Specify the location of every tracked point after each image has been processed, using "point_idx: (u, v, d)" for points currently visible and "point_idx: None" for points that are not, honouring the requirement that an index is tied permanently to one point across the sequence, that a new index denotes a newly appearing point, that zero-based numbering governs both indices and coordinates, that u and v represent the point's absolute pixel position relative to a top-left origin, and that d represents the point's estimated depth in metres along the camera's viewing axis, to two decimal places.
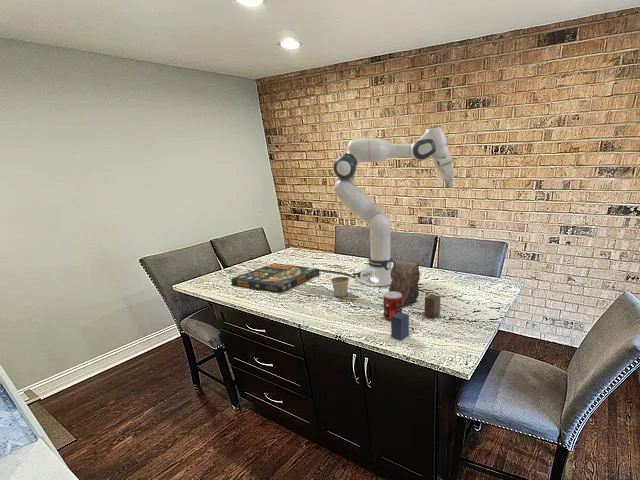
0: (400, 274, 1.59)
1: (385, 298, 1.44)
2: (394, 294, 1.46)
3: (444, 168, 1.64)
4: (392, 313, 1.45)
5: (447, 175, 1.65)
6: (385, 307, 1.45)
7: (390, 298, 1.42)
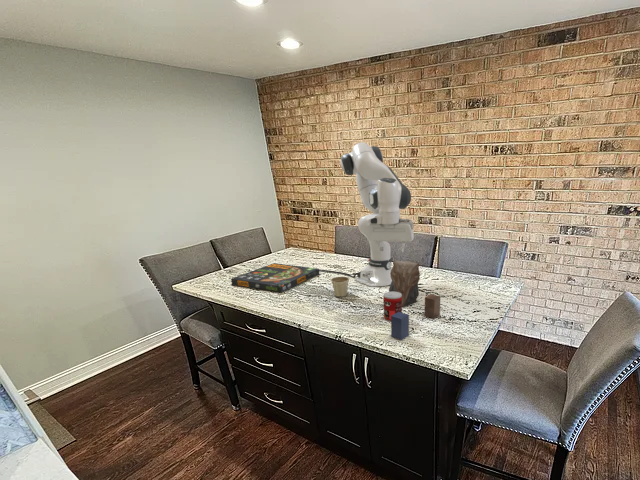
0: (400, 274, 1.59)
1: (385, 298, 1.44)
2: (394, 294, 1.47)
3: None
4: (392, 313, 1.45)
5: None
6: (385, 307, 1.45)
7: (390, 298, 1.42)
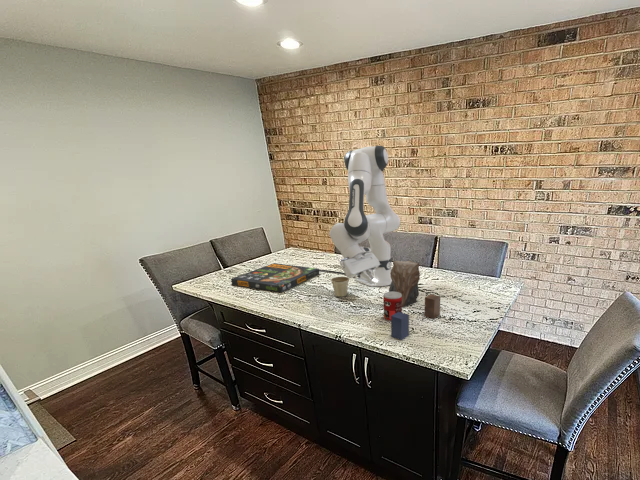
0: (400, 274, 1.59)
1: (385, 298, 1.44)
2: (394, 294, 1.47)
3: None
4: (392, 313, 1.45)
5: None
6: (385, 307, 1.45)
7: (390, 298, 1.42)
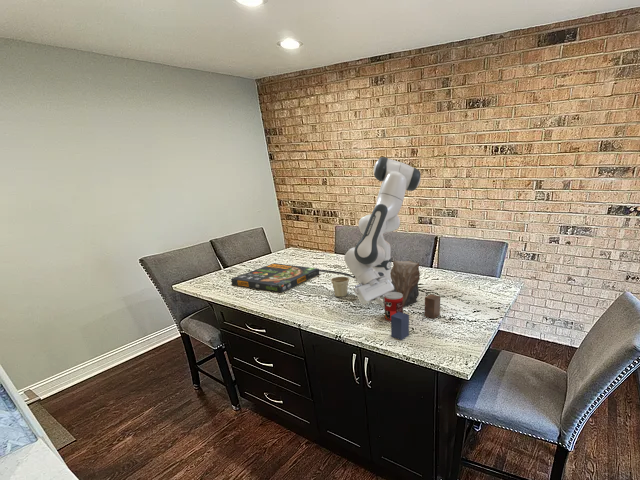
0: (400, 274, 1.59)
1: (386, 298, 1.43)
2: (395, 294, 1.46)
3: None
4: (393, 313, 1.44)
5: None
6: (386, 307, 1.45)
7: (391, 298, 1.42)
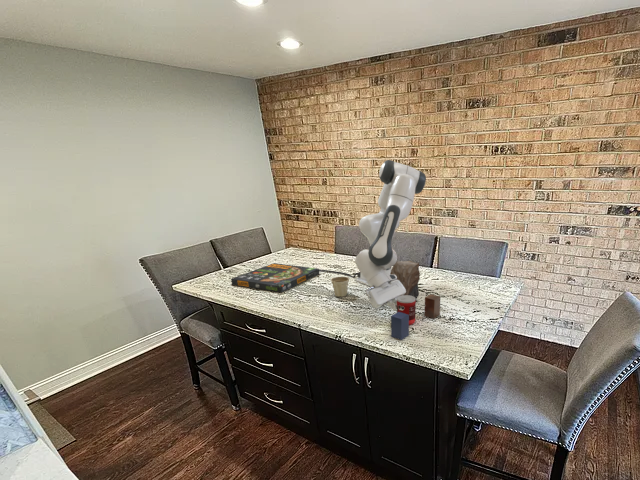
0: (400, 274, 1.59)
1: (399, 302, 1.39)
2: (408, 298, 1.42)
3: None
4: None
5: None
6: (398, 311, 1.41)
7: (404, 302, 1.38)
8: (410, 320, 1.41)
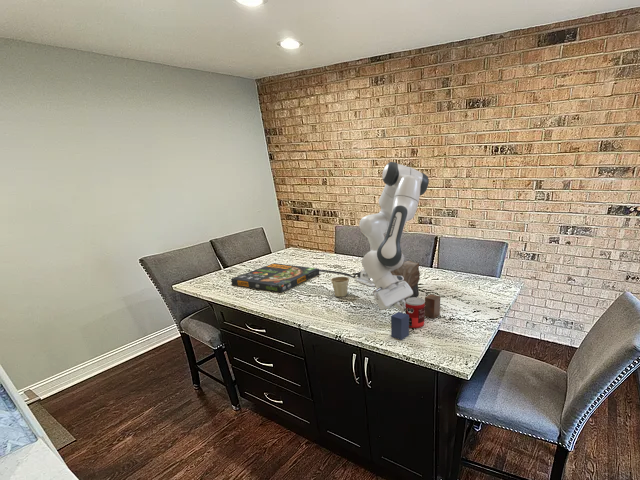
0: (400, 274, 1.59)
1: (408, 305, 1.37)
2: (416, 300, 1.40)
3: None
4: (415, 320, 1.38)
5: None
6: None
7: (413, 305, 1.36)
8: (419, 323, 1.39)
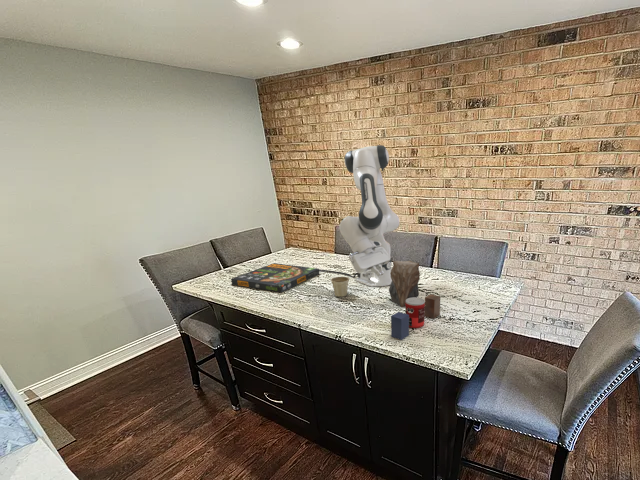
0: (400, 274, 1.59)
1: (408, 305, 1.37)
2: (416, 300, 1.40)
3: None
4: (415, 320, 1.38)
5: None
6: None
7: (413, 305, 1.36)
8: (419, 323, 1.39)
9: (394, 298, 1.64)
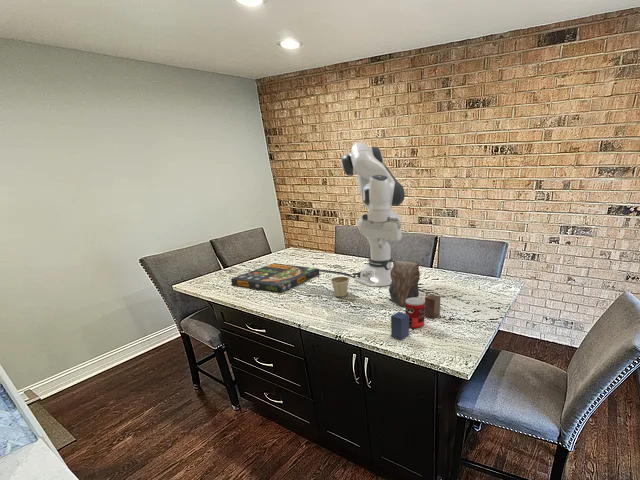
0: (400, 274, 1.59)
1: (408, 305, 1.37)
2: (416, 300, 1.40)
3: None
4: (415, 320, 1.38)
5: None
6: None
7: (413, 305, 1.36)
8: (419, 323, 1.39)
9: (394, 298, 1.64)
